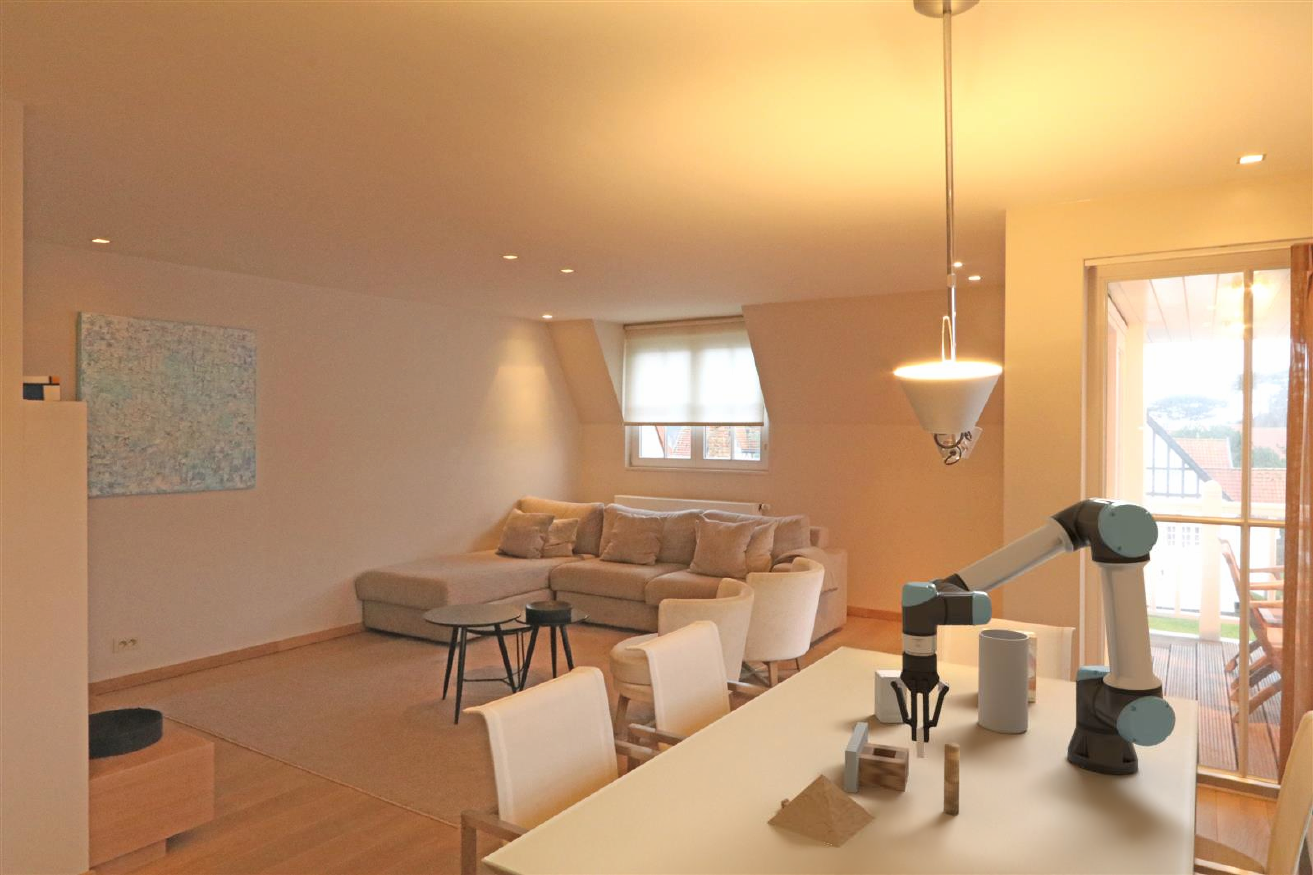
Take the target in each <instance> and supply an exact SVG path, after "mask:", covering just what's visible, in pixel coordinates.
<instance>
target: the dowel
mask: <svg viewBox="0 0 1313 875" xmlns="http://www.w3.org/2000/svg"><path fill="white" fill-rule="evenodd" d="M943 747H944V748H943V749H944V751H943V752H944V753H943V754H944V755H943V758H944V759H943V760H944V761H943V762H944V763H943V812H944V813H945V814H946V815H951V816H956V815H959V814H960V744H957V743H955V742H946V743H944V746H943Z"/></svg>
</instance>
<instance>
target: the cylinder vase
mask: <svg viewBox="0 0 1313 875" xmlns="http://www.w3.org/2000/svg"><path fill="white" fill-rule="evenodd" d="M985 629H986V630H982V629H981V630H979V631H978V677H977V678H978V682H977V683H978V688H977V689H978V693H977V697H978V699H977V702H978V703H977V706H978V707H977V722H978V724H979V725H980V726H981V727H982V728H983V729H986V730H988V731H990V732H995V733H1000V734H1008V735H1010V734H1011V735H1014V734H1021V733H1024V732H1026V731H1027V730H1028V728H1029V701H1028V667H1029V636H1028V635H1026V634H1024V633H1021V632H1017V631H1018V630H1010V629H1001V628H1000V629H998V628H985Z"/></svg>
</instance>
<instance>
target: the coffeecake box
mask: <svg viewBox="0 0 1313 875" xmlns="http://www.w3.org/2000/svg"><path fill="white" fill-rule="evenodd" d="M986 629H987V628H981V630H986ZM1016 631H1017V632H1021V633H1024V634H1026V635H1028V636H1029V667H1028V702H1031V703H1033V702H1034V703H1036V702H1037V701H1036V700H1037V653H1038V652H1037V651H1038V650H1037V649H1038V648H1037V647H1038V645H1037V644H1038V643H1037V642H1038V641H1037V638H1038V637H1037V636H1036V633H1035V632H1034V631H1023V630H1022V631H1021V630H1016Z"/></svg>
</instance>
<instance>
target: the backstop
mask: <svg viewBox="0 0 1313 875" xmlns="http://www.w3.org/2000/svg"><path fill="white" fill-rule="evenodd" d="M868 729H869V723H868V722H862V721H857V722H856V726H855V727H854V730H853V731H852V734H851V736H850V738H849V741H848V742H847V744H846V747H845V749H844V791H845V792H848V793H855V794H856V793H857V790H858V787H859V786H860V784H859V757H860V754H861V751H862V749H863V746H864V744H865V743H869V741H868V740H869V738H868V737H869V733H868V732H869V731H868Z"/></svg>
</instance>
